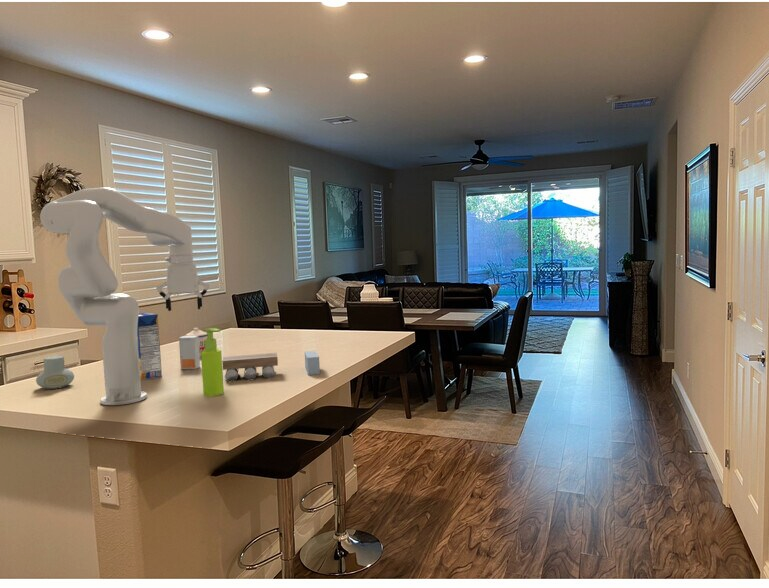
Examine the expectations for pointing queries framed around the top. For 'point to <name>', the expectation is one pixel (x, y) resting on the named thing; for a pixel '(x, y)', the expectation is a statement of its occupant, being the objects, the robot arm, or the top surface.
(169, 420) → the top surface
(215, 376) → the soap dispenser
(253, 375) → the roller middle
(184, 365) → the skincare box
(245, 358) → the slab
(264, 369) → the roller
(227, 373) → the roller
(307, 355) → the stop block
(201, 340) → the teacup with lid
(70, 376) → the air freshener
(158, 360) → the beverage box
